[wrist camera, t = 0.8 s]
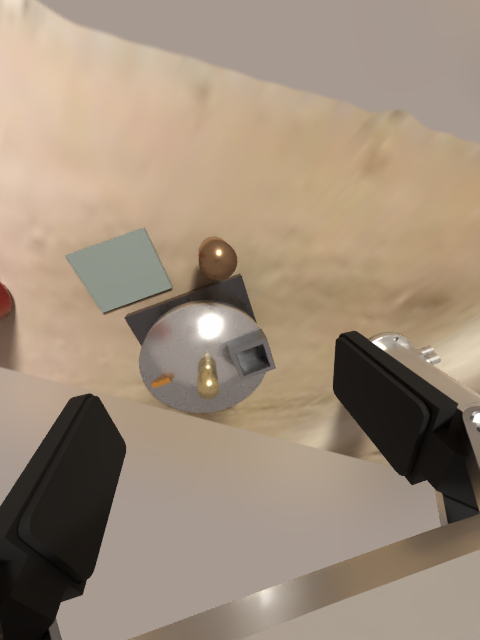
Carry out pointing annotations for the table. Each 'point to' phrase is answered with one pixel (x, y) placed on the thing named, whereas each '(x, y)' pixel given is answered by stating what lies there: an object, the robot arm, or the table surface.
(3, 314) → the soda can
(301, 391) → the table surface
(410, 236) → the table surface
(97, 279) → the mat
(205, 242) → the copper bullet
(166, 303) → the chuck stand
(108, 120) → the table surface
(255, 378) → the chuck disc
